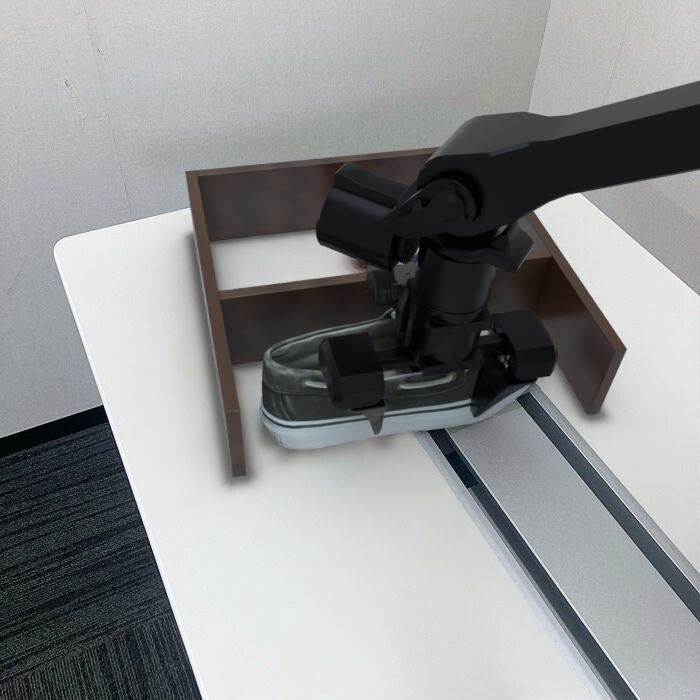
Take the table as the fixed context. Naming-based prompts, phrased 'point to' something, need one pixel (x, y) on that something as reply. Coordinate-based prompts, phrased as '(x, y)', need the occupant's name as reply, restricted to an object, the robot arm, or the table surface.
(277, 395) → the boat shoe
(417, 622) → the table surface
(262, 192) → the shoe rack
